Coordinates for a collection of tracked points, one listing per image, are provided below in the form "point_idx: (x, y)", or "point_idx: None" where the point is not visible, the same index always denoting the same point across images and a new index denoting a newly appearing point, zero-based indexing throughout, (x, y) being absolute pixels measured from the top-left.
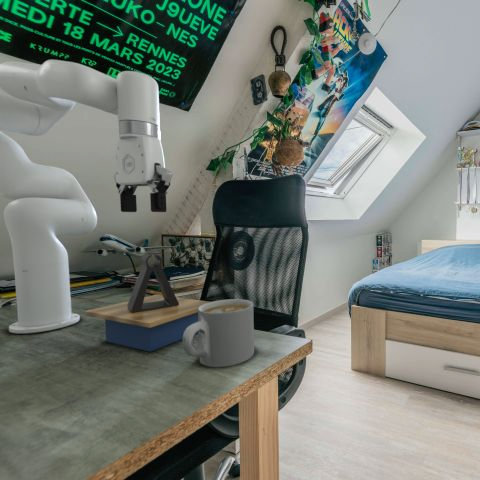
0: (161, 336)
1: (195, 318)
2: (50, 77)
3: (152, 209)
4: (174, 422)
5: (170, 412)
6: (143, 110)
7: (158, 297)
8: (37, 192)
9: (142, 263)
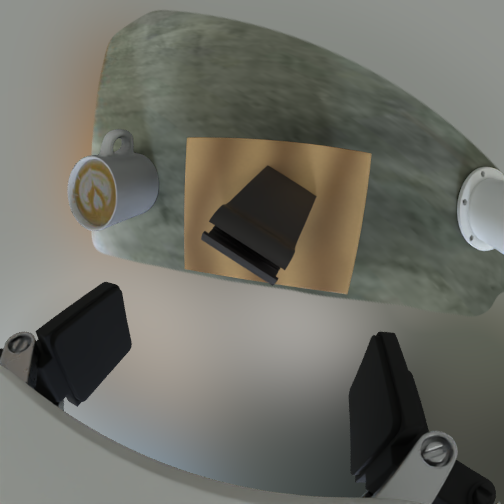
0: None
1: None
2: None
3: (101, 284)
4: (101, 81)
5: (110, 85)
6: None
7: (322, 275)
8: None
9: (289, 244)
